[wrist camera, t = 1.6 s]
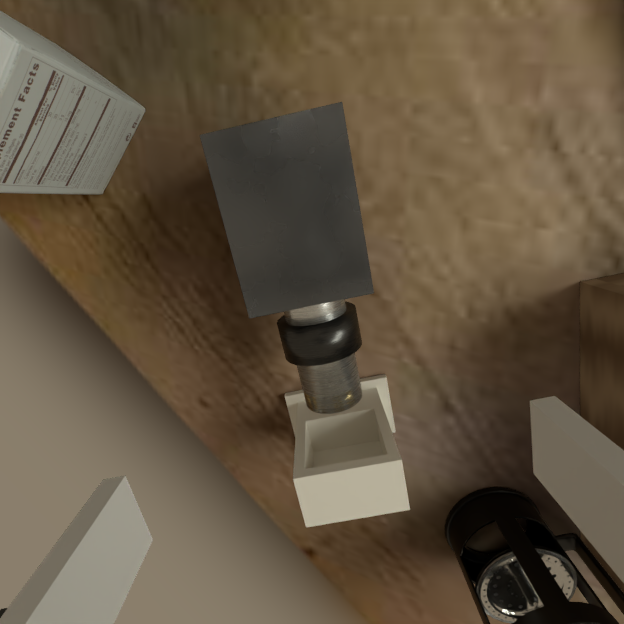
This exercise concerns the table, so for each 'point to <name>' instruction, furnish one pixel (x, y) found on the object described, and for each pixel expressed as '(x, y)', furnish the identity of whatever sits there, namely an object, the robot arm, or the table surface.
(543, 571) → the french press
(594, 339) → the box
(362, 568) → the table surface
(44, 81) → the supplement box
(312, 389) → the rod
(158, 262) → the table surface
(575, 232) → the table surface
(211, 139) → the dark grey block
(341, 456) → the socket
